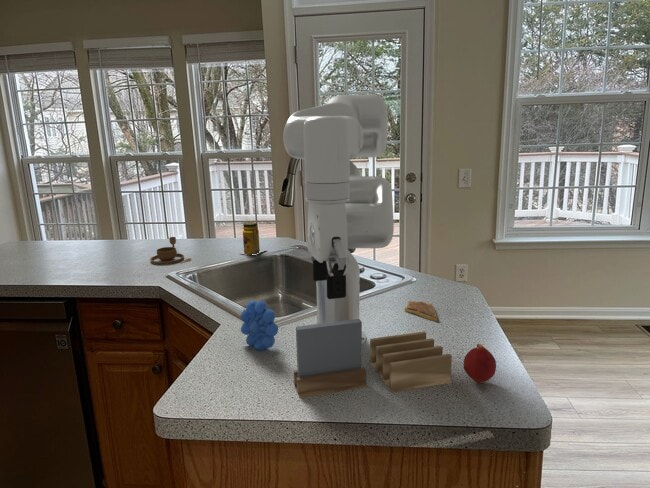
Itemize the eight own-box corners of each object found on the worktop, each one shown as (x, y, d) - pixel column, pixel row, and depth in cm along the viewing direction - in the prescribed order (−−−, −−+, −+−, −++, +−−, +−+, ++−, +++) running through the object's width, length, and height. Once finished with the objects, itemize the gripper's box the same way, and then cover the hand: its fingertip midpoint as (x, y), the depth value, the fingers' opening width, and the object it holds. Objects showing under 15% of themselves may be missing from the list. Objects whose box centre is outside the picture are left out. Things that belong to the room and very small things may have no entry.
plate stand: (292, 384, 88) (292, 367, 87) (357, 374, 92) (357, 357, 91) (299, 401, 83) (298, 383, 82) (368, 390, 86) (368, 372, 85)
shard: (437, 324, 115) (438, 317, 115) (406, 323, 116) (407, 316, 115) (431, 307, 126) (432, 301, 125) (403, 307, 126) (403, 300, 126)
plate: (297, 386, 86) (295, 326, 83) (359, 376, 89) (359, 318, 86) (299, 390, 85) (297, 329, 82) (361, 380, 88) (361, 321, 85)
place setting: (137, 264, 170) (135, 248, 169) (172, 250, 189) (170, 236, 187) (176, 268, 164) (174, 252, 163) (208, 253, 183) (207, 239, 181)
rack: (369, 364, 95) (369, 337, 94) (422, 356, 98) (423, 330, 97) (392, 396, 84) (392, 366, 82) (451, 386, 87) (453, 357, 85)
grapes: (292, 351, 101) (290, 300, 98) (269, 363, 96) (266, 309, 93) (258, 336, 109) (255, 288, 106) (235, 346, 104) (231, 296, 101)
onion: (487, 374, 91) (490, 336, 89) (499, 390, 85) (503, 350, 83) (458, 375, 91) (460, 337, 89) (468, 391, 85) (471, 351, 83)
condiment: (239, 254, 179) (237, 224, 176) (252, 249, 186) (250, 220, 183) (254, 256, 176) (253, 225, 173) (267, 251, 183) (266, 221, 180)
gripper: (295, 187, 85) (297, 276, 89) (318, 200, 69) (320, 308, 73) (334, 185, 87) (335, 272, 91) (366, 198, 71) (365, 303, 75)
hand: (328, 288), depth 82 cm, fingers open, 9 cm apart
